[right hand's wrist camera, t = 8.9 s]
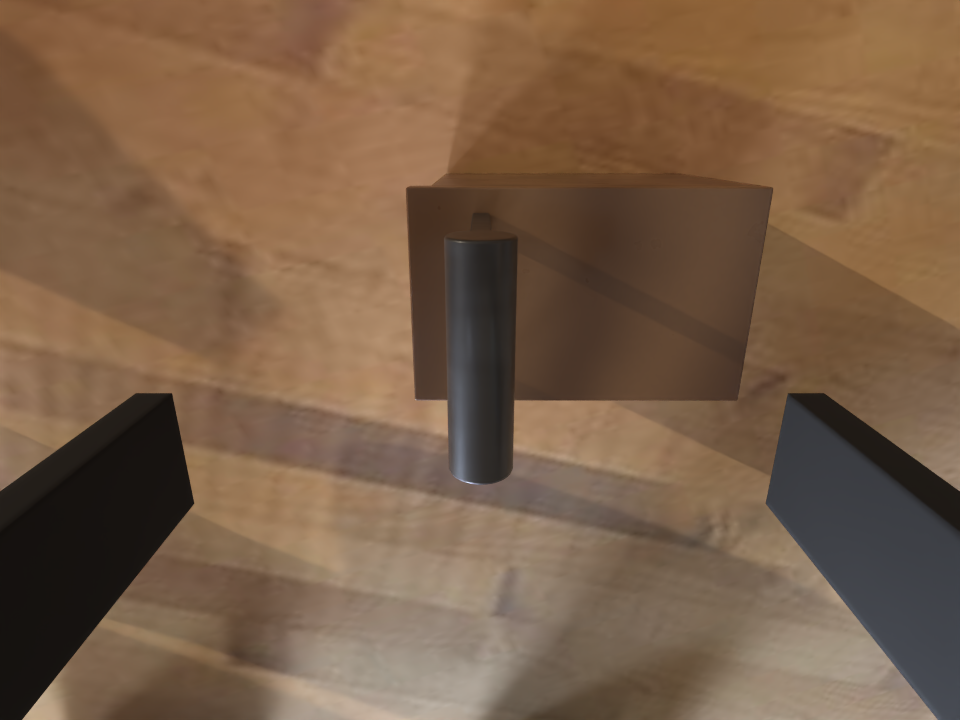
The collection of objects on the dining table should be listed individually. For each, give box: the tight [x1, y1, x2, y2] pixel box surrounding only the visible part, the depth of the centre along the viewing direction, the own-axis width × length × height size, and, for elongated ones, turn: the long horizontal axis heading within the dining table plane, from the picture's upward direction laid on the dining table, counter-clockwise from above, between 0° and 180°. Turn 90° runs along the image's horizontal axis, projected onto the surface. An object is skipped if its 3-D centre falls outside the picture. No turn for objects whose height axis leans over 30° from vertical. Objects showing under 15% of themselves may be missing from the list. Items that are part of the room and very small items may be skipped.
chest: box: [432, 174, 760, 186], centre depth 30 cm, size 14×9×10 cm
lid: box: [406, 186, 773, 485], centre depth 21 cm, size 15×9×9 cm, turn 90°
